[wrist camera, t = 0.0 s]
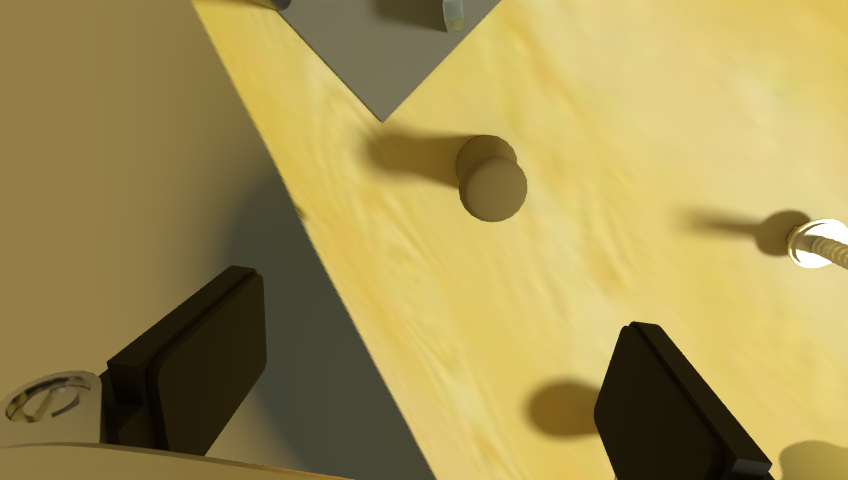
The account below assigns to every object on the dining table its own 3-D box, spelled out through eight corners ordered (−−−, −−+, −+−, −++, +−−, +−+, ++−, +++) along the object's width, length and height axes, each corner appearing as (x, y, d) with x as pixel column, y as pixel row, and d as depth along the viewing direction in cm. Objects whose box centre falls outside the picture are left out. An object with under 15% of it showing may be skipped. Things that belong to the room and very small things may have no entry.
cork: (443, 158, 40) (436, 184, 30) (495, 121, 38) (507, 135, 28) (477, 207, 41) (482, 247, 31) (529, 173, 40) (552, 204, 29)
